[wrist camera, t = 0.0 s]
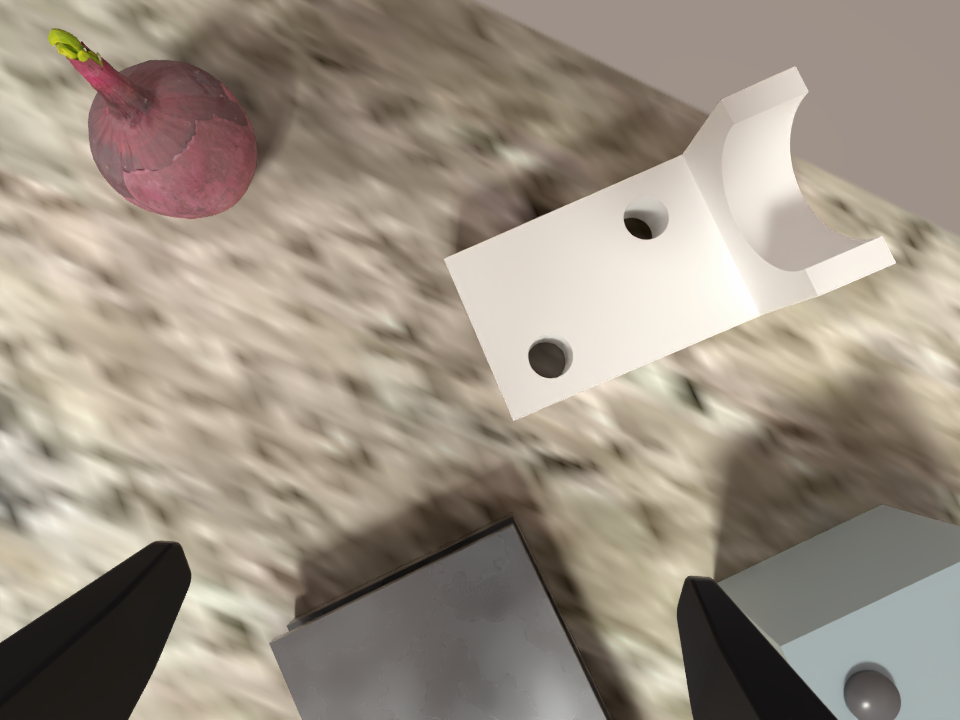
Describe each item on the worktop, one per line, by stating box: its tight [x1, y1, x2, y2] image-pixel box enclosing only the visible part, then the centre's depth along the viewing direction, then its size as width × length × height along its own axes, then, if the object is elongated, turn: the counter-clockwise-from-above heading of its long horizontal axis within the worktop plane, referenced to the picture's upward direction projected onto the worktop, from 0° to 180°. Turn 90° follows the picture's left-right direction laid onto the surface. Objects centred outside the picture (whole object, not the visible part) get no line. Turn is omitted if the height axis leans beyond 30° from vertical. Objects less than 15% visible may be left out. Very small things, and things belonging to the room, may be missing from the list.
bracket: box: [444, 66, 896, 421], centre depth 21 cm, size 13×7×8 cm, turn 113°
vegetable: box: [48, 29, 257, 219], centre depth 21 cm, size 6×6×10 cm
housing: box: [717, 504, 960, 720], centre depth 20 cm, size 5×8×6 cm, turn 116°
